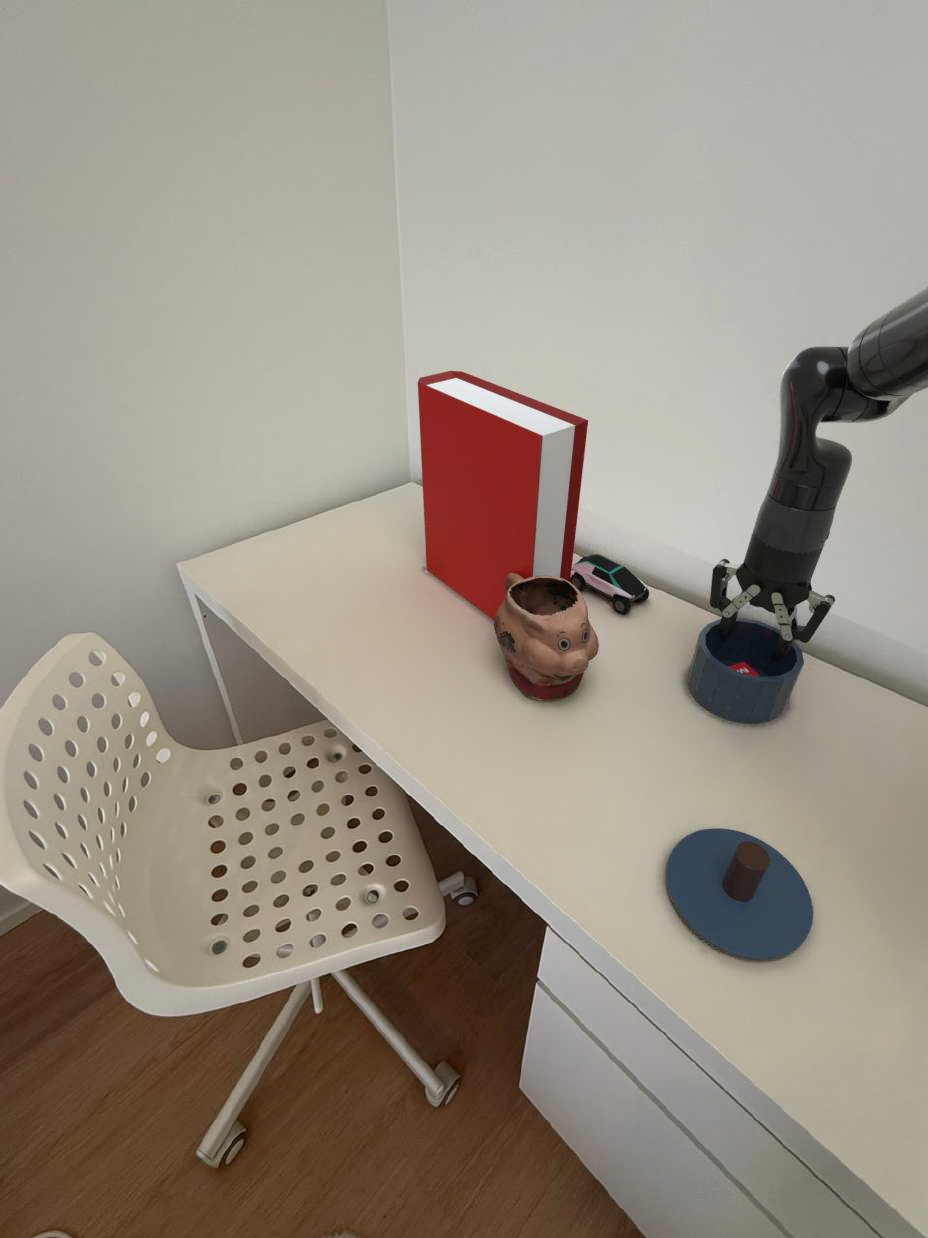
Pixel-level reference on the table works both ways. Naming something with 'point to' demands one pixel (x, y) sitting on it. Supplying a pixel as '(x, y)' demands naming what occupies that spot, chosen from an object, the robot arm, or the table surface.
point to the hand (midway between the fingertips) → (750, 647)
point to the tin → (736, 690)
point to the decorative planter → (545, 635)
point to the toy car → (609, 581)
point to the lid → (739, 894)
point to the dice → (744, 669)
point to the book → (496, 485)
